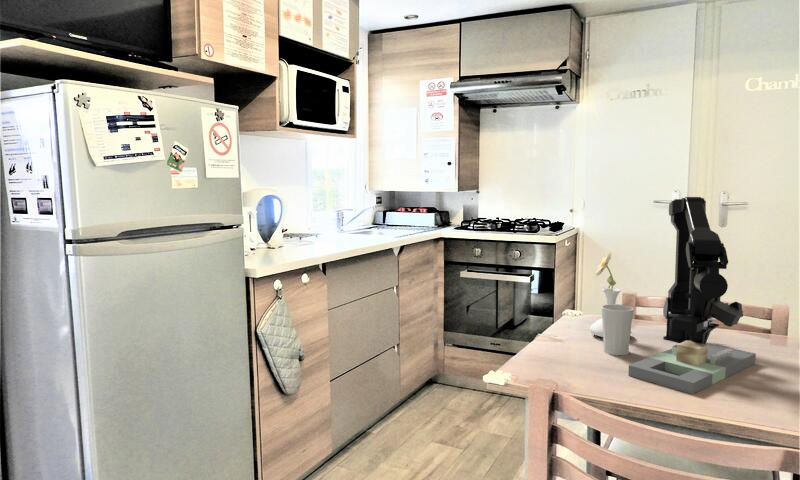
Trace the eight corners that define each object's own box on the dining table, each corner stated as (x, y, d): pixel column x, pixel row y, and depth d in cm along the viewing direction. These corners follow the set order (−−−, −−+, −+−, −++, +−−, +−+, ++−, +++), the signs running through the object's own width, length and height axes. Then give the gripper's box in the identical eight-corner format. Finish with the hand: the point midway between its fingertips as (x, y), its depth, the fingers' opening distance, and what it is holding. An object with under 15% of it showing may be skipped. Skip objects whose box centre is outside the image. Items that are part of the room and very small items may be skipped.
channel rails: (671, 354, 145) (672, 346, 145) (689, 347, 151) (689, 339, 150) (715, 365, 137) (715, 356, 137) (732, 357, 143) (732, 349, 142)
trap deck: (628, 375, 138) (628, 365, 138) (694, 349, 157) (694, 340, 157) (692, 394, 126) (693, 383, 126) (755, 363, 146) (755, 353, 145)
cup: (636, 351, 156) (638, 307, 155) (624, 358, 150) (626, 312, 149) (607, 345, 161) (609, 302, 160) (594, 352, 156) (596, 307, 154)
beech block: (676, 360, 140) (676, 344, 140) (685, 356, 144) (686, 340, 143) (697, 365, 137) (698, 349, 136) (706, 361, 140) (707, 344, 139)
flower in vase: (596, 328, 178) (599, 247, 175) (635, 334, 172) (639, 250, 169) (582, 339, 168) (584, 252, 165) (623, 345, 161) (626, 255, 158)
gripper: (720, 300, 129) (716, 369, 131) (755, 289, 140) (751, 352, 142) (670, 292, 138) (667, 357, 139) (707, 282, 149) (704, 342, 151)
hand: (699, 352), depth 143 cm, fingers closed
